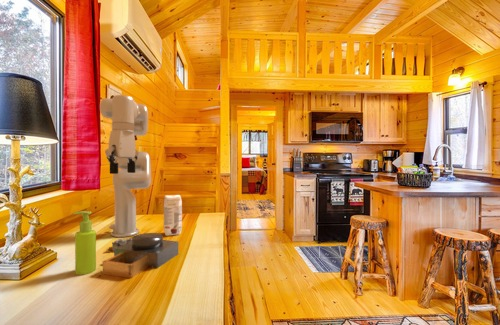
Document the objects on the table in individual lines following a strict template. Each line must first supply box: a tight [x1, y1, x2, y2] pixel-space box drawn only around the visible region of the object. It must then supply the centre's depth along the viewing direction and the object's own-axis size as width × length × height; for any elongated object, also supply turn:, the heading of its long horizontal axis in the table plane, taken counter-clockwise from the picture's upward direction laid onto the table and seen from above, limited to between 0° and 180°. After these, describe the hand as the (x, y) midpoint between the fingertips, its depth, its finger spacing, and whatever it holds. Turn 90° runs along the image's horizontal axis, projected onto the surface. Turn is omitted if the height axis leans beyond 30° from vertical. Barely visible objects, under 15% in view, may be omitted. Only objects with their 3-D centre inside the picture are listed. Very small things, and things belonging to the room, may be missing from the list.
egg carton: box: [111, 237, 132, 252], centre depth 113 cm, size 11×8×4 cm
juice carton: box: [163, 194, 183, 237], centre depth 134 cm, size 8×9×19 cm
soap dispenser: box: [71, 210, 97, 276], centre depth 90 cm, size 6×7×20 cm
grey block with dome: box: [102, 232, 179, 279], centre depth 98 cm, size 18×23×8 cm
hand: (123, 173), depth 103 cm, fingers open, 9 cm apart
